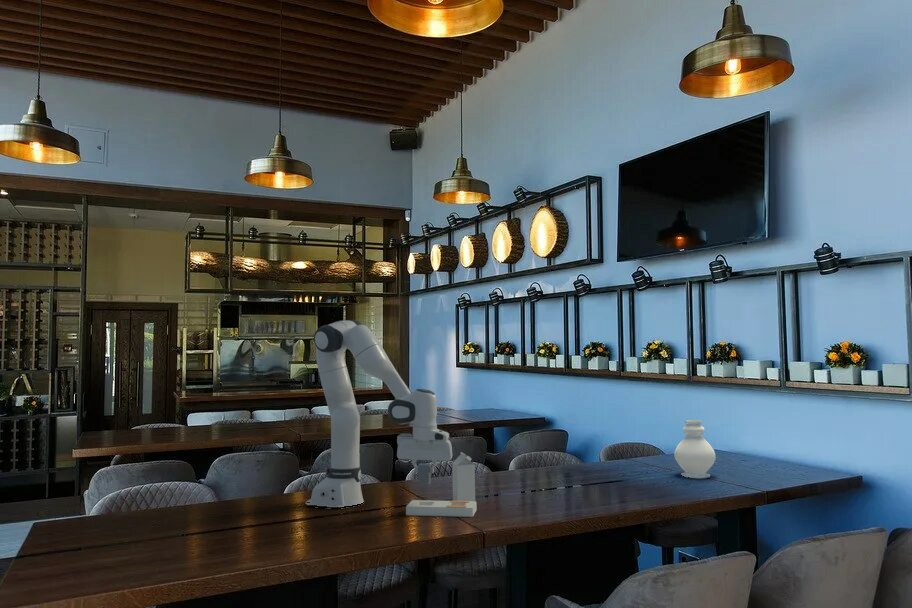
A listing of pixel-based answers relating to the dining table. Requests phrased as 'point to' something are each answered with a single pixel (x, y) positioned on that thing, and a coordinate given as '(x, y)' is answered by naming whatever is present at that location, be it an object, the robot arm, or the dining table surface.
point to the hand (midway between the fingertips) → (424, 472)
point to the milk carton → (463, 478)
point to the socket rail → (441, 508)
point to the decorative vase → (694, 451)
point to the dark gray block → (424, 474)
